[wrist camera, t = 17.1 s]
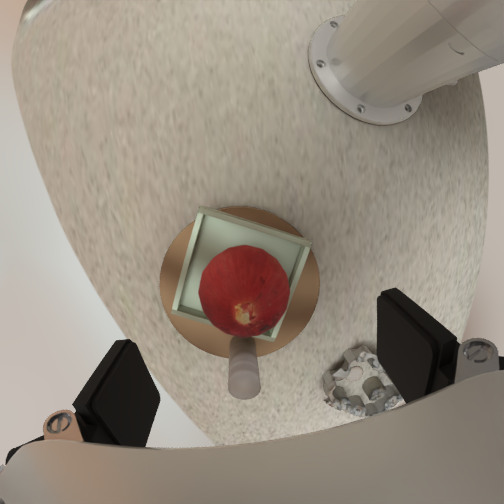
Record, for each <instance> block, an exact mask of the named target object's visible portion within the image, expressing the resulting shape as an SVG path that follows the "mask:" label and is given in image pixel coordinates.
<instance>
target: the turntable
mask: <svg viewBox="0 0 504 504" xmlns="http://www.w3.org/2000/svg"><path fill="white" fill-rule="evenodd" d="M240 245H249V246H253V247H257V248H261V249H263V250H265V251H266V252H268V253H269V254H270V255H272V256H273V257H275V258H276V259H277V260H278V261H279V263H280V265H281V266H282V268H283V269H284V271H285V272H286V274H287V277H288V283H289V288H290V296H289V301H288V305H287V310H286V311H285V313H284V314H283V316H282V317H281V319H280V320H279V322H278V323H277V325H276V326H275V327H273V328H272V329H270V330H268V331H266V332H264V333H263V334H261V335H259V336H252V337H245V338H240V337H236V336H232V335H229V334H226V333H224V332H222V331H221V330H219V329H218V328H216V327H215V326H213V325H212V323H211V322H210V320H209V319H208V318H207V316H206V315H205V314H204V312H203V310H202V306H201V302H200V298H199V294H198V290H199V285H200V280H201V275H202V272H203V270H204V269H205V268H206V266H207V265H208V264H209V262H210V261H211V260H212V258H214V257H215V256H216V255H218V254H219V253H221V252H223V251H224V250H226V249H227V248H229V247H235V246H240ZM311 245H312V242H310V241H309V240H308V239H305V238H303V237H302V235H301V234H300V233H299V232H298V231H297V230H296V229H295V228H294V227H292V226H291V225H290V224H288V223H287V222H286V221H284V220H283V219H281V218H279V217H278V216H276V215H274V214H272V213H270V212H267V211H265V210H261V209H257V208H253V207H244V206H237V207H227V208H221V209H218V210H215V209H211V208H208V207H205V206H201V207H199V210H198V214H197V217H196V220H195V221H194V222H192V223H191V224H190V225H188V226H187V227H186V228H185V229H184V230H182V231H181V233H180V234H179V235H178V236H177V237H176V238H175V239H174V241H173V242H172V244H171V245H170V247H169V249H168V251H167V253H166V255H165V257H164V261H163V264H162V267H161V273H160V294H161V299H162V303H163V306H164V309H165V311H166V314H167V316H168V318H169V319H170V321H171V323H172V324H173V326H174V327H175V328H176V330H177V331H178V332H179V333H180V334H181V335H182V336H183V337H184V338H185V339H186V340H188V341H189V342H190V343H191V344H193V345H194V346H196V347H198V348H199V349H201V350H203V351H205V352H208V353H210V354H213V355H216V356H220V357H225V358H229V380H228V390H229V392H230V394H231V395H232V396H233V397H235V398H237V399H242V400H246V399H251V398H253V397H255V396H257V395H258V393H259V392H260V389H261V386H260V377H259V369H258V361H257V357H259V356H263V355H266V354H269V353H272V352H274V351H276V350H278V349H280V348H282V347H284V346H285V345H286V344H288V343H289V342H291V341H292V340H293V339H294V338H295V337H296V336H298V335H299V333H300V332H301V331H302V330H303V329H304V328H305V326H306V325H307V323H308V322H309V320H310V318H311V316H312V314H313V312H314V310H315V307H316V304H317V301H318V296H319V287H320V280H319V271H318V266H317V262H316V260H315V257H314V254H313V252H312V250H311Z"/></svg>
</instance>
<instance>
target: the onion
mask: <svg viewBox="0 0 504 504" xmlns="http://www.w3.org/2000/svg"><path fill="white" fill-rule="evenodd" d="M198 294H199V298H200V302H201V306H202V310H203V312H204V314H205V315H206V316H207V318H208V319H209V320H210V322H211V323H212V325H213V326H215V327H216V328H218V329H219V330H221V331H222V332H224V333H226V334H229V335H232V336H236V337H240V338H245V337H252V336H259V335H261V334H263V333H264V332H266V331H268V330H270V329H272V328H273V327H275V326H276V325H277V323H278V322H279V320H280V319H281V317H282V316H283V314H284V313H285V311H286V310H287V305H288V301H289V296H290V288H289V283H288V277H287V274H286V272H285V271H284V269H283V268H282V266H281V265H280V263H279V261H278V260H277V259H276V258H275V257H273V256H272V255H270V254H269V253H268V252H266V251H265V250H263V249H261V248H257V247H253V246H249V245H240V246H235V247H229V248H227V249H226V250H224V251H223V252H221V253H219V254H218V255H216V256H215V257H214V258H212V260H211V261H210V262H209V264H208V265H207V266H206V268H205V269H204V270H203V272H202V275H201V280H200V285H199V290H198Z"/></svg>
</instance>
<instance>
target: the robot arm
mask: <svg viewBox="0 0 504 504" xmlns="http://www.w3.org/2000/svg"><path fill="white" fill-rule="evenodd" d="M308 59H309V64H310V68H311V71H312V74H313V76H314V78H315V80H316V82H317V84H318V85H319V87H320V88H321V90H322V91H323V92H324V94H325V95H326V96H327V97H328V98H329V99H330V100H331V101H332V102H333V103H334V104H335V105H336V106H338V107H339V108H340V109H341V110H343V111H344V112H346V113H347V114H349V115H351V116H352V117H354V118H357V119H359V120H361V121H363V122H367V123H371V124H375V125H390V124H396V123H398V122H401V121H404V120H406V119H407V118H409V117H411V116H412V115H413V114H414V113H415V112H416V111H417V109H418V108H419V106H420V104H421V101H422V98H423V94H425V93H427V92H429V91H432V90H434V89H436V88H439V87H441V86H444V85H451V86H454V85H456V84H457V82H458V80H459V79H461V78H464V77H466V76H469V75H472V74H474V73H477V72H480V71H482V70H485V69H487V68H491V67H493V66H496V65H499V64H502V63H504V0H356V1H355V3H354V4H353V6H352V7H351V8H350V10H349V11H348V13H347V14H346V15H343V16H338V17H334V18H331V19H329V20H327V21H325V22H324V23H323V24H321V25H320V26H319V27H318V28H317V30H316V31H315V33H314V34H313V36H312V38H311V40H310V45H309V49H308ZM317 65H318V66H320V67H321V68H320V67H318V66H317ZM357 109H358V110H359V111H360V112H358V110H357ZM377 359H378V361H379V363H380V365H381V366H382V367H383V369H384V370H385V372H386V373H387V375H388V376H389V378H390V379H391V381H392V382H393V384H394V385H395V387H396V388H397V390H398V391H399V393H400V395H401V396H402V398H403V399H404V401H405V402H406V404H404V405H402V406H399V407H396V408H393V409H390V410H388V411H385V412H382V413H379V414H376V415H373V416H370V417H367V418H364V419H361V420H357V421H354V422H351V423H347V424H344V425H340V426H336V427H332V428H328V429H324V430H320V431H316V432H311V433H307V434H302V435H297V436H292V437H287V438H281V439H275V440H269V441H262V442H255V443H247V444H238V445H227V446H214V447H195V448H151V447H145V446H146V443H147V440H148V437H149V434H150V430H151V427H152V424H153V421H154V418H155V415H156V412H157V409H158V406H159V403H160V394H159V392H158V390H157V388H156V386H155V384H154V382H153V380H152V377H151V375H150V373H149V371H148V369H147V367H146V365H145V362H144V360H143V358H142V356H141V353H140V351H139V349H138V347H137V345H136V343H134V342H132V341H131V340H130V339H126V340H116V341H115V343H114V344H113V345H112V347H111V348H110V350H109V351H108V353H107V354H106V355H105V357H104V358H103V359H102V361H101V362H100V364H99V365H98V367H97V368H96V370H95V371H94V373H93V374H92V376H91V377H90V378H89V380H88V381H87V383H86V384H85V386H84V387H83V389H82V391H81V392H80V394H79V395H78V396H77V398H76V399H75V401H74V403H73V404H72V405H73V406H74V408H75V409H76V412H75V414H74V413H73V412H72V411H70V410H60V411H57V412H55V413H53V414H51V415H50V416H49V417H48V418H47V419H46V420H45V422H44V425H43V432H44V435H43V436H41V437H38V438H36V439H35V440H32V441H30V442H28V443H25V444H23V445H21V446H19V447H16V448H13V449H11V450H10V451H9V453H8V456H7V458H6V466H4V465H2V466H0V504H504V357H501V356H498V350H497V347H496V346H495V345H494V344H493V343H492V342H490V341H489V340H486V339H482V338H472V339H469V340H466V341H464V342H463V343H462V344H460V343H458V342H457V337H456V336H455V335H453V334H452V333H451V332H450V331H449V330H448V329H446V328H445V327H444V326H443V325H442V324H440V323H439V322H438V321H437V320H436V319H434V318H433V317H432V316H431V315H430V314H428V313H427V312H426V311H425V310H424V309H422V308H421V307H420V306H419V305H417V304H416V303H415V302H414V301H412V300H411V299H410V298H409V297H407V296H406V295H405V294H404V293H402V292H401V291H400V290H398V289H397V288H392V289H388V290H385V291H382V292H381V296H378V298H377Z"/></svg>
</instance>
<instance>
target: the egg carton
mask: <svg viewBox="0 0 504 504" xmlns="http://www.w3.org/2000/svg"><path fill="white" fill-rule="evenodd" d="M343 356H344V357H345V362H344V364H343V366H342V367H341V368H339V369H338V370H334V371H332V370H328V371H326V372H325V373H324V374H323V375H322V376H323V378H324V381H325V383H324V385H323V387H324V391H325V394H326V397H325V398H324V401H326V404H329V405H330V406H331V407H334V408H335V409H338V410H341V409H342V410H343V411H345V412H348V413H351V414H353V415H354V416H358V417H370V416H373V415H376V414H379V413H382V412H385V411H388V410H389V409H390V408H391V407H394V406H395V405H396V404H397V403H398V402H399V401H401V400H403V398H402V396H401V395H400V393H399V391H398V390H397V388H396V387H395V385H394V384H393V385H388V386H384V385H383V384H382V382H381V381H380V379H379V378H378V377H376V376H374V377H370V378H368V379H367V380H366V381H365V382H364V383H363V386H362V387H363V390H364V391H365V393H366V395H367V396H368V398H369V400H372V401H375V400H377V401H376V402H375V403H369V404H366V405H364V404H363V402H362V400H361V398H360V397H359V396H357V395H354V396H350V397H347V395H346V393H345V391H344V389H343V388H342V387H340V386H336V382H335V380H336V381H340V380H342V379H344V378H345V379H346V380H347V381H350V382H351V381H356V380H358V379H359V378H360V377H361V376H362V374H363V369H362V368H361V367H360V366H355V367H352V368H351V367H350V364H351V362H353V361H354V360H356V361H357V362H358V361H360V362H364V361H366V360H367V361H368V362H369V364H370V365H371V366H372V368H373V369H374V370H376V371H378V373H382V372H385V370H384V369H383V367H382V366H381V365H380V363H379V361H378V359H377V355H374V354H372V353H371V351H370V350H369V349H368V348H367V347H366V346H365V345H361V346H360V347H359V348H356V349H348V350H347V351H346V352H345V353H344V354H343ZM385 374H386V375H387V373H386V372H385ZM387 376H388V375H387ZM388 378H389V376H388ZM389 379H390V378H389ZM390 381H391V379H390ZM391 382H392V381H391ZM392 383H393V382H392Z"/></svg>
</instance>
